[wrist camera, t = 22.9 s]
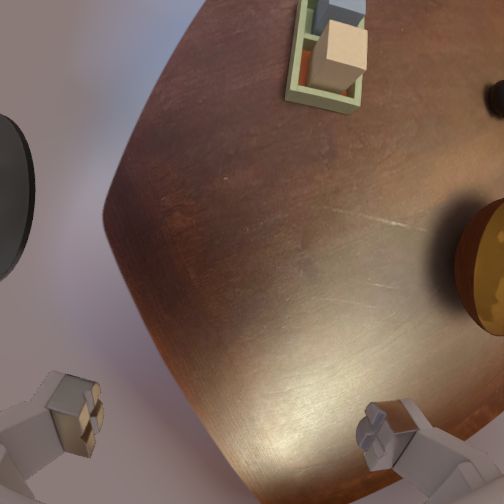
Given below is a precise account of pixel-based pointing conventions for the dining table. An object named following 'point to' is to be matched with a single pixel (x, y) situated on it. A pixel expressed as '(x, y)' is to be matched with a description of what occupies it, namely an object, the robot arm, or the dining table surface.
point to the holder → (300, 63)
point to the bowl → (483, 268)
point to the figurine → (497, 97)
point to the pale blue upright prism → (337, 13)
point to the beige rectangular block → (337, 58)
